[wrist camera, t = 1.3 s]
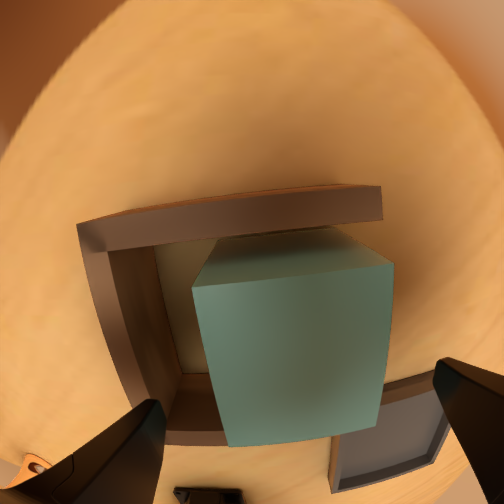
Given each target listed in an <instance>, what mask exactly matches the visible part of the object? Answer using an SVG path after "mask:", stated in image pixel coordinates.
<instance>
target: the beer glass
mask: <svg viewBox="0 0 504 504" xmlns="http://www.w3.org/2000/svg"><path fill="white" fill-rule="evenodd" d="M50 467H52V466H51V465H50V464H49V463H47V462H46V461H44V460H43V459H41V458H39V457H37V456H35V455H32V454H27V455H26V457H25V459H24V462H23V465H22V467H21V470H20V471H19V473H18V475H17V476H16V477H15V478H14V480H12V482H10V483H9V484H8V485H7V486H6V487H5V488H4V489H7V488H11V487H13V486H16V485H18V484H20V483H22V482H24V481H26V480H28V479H30V478H32V477H34V476H36V475H38V474H40V473H42V472H43V471H45V470H47V469H49V468H50Z"/></svg>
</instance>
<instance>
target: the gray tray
mask: <svg viewBox="0 0 504 504" xmlns="http://www.w3.org/2000/svg"><path fill="white" fill-rule="evenodd" d="M433 374H434V370H432V371H429V372H426V373H423V374H420V375H416V376H413V377H410V378H406V379H403V380H399V381H395V382H392V383H388V384H384V385H383V391H382V396H381V402H380V407H379V412H378V417H377V422H376V426H374V427H370V428H366V429H362V430H358V431H353V432H349V433H344V434H339V435H334V436H332V445H331V455H330V464H329V472H328V481H329V485H330V490H331V494H334V493H339V492H343V491H348V490H352V489H356V488H360V487H364V486H368V485H372V484H375V483H379V482H382V481H385V480H389V479H392V478H395V477H398V476H401V475H404V474H407V473H409V472H412V471H415V470H417V469H420V468H423V467H425V466H428V465H430V464H433V463H434V461H435V459H436V457H437V455H438V453H439V451H440V449H441V447H442V445H443V443H444V441H445V439H446V437H447V435H448V432H449V430H450V428H451V426H450V424H449V422H448V420H447V418H446V415H445V413H444V411H443V408H442V406H441V403H440V401H439V399H438V396H437V394H436V392H435V389H434V387H433V384H432V379H433Z"/></svg>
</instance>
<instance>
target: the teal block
mask: <svg viewBox="0 0 504 504" xmlns="http://www.w3.org/2000/svg"><path fill="white" fill-rule="evenodd" d="M393 287H394V263H393V262H392V261H390V260H388V259H387V258H385V257H383V256H382V255H380V254H379V253H377V252H375V251H374V250H372V249H370V248H369V247H367V246H365V245H364V244H362V243H360V242H358V241H357V240H355V239H353V238H352V237H350V236H348V235H346V234H345V233H343V232H341V231H340V230H338V229H336V228H325V229H315V230H306V231H296V232H287V233H278V234H269V235H260V236H251V237H242V238H233V239H225V240H218V241H217V243H216V244H215V246H214V248H213V250H212V251H211V253H210V255H209V257H208V258H207V260H206V262H205V264H204V266H203V267H202V269H201V271H200V273H199V274H198V276H197V278H196V280H195V282H194V283H193V285H192V287H191V288H192V293H193V299H194V304H195V309H196V314H197V319H198V324H199V329H200V333H201V338H202V343H203V347H204V352H205V356H206V360H207V365H208V369H209V373H210V378H211V382H212V386H213V390H214V394H215V398H216V402H217V406H218V409H219V413H220V417H221V421H222V424H223V428H224V432H225V435H226V439H227V442H228V446H229V447H245V446H260V445H272V444H281V443H290V442H298V441H305V440H311V439H318V438H323V437H329V436H334V435H339V434H344V433H349V432H353V431H358V430H362V429H366V428H370V427H374V426H376V422H377V417H378V412H379V407H380V402H381V396H382V391H383V385H384V378H385V372H386V365H387V357H388V349H389V340H390V330H391V319H392V305H393Z"/></svg>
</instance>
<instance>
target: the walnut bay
mask: <svg viewBox="0 0 504 504" xmlns="http://www.w3.org/2000/svg"><path fill="white" fill-rule="evenodd" d="M378 220H383V212H382V195H381V186H369V185H348V184H336V185H323V186H310V187H299V188H288V189H278V190H268V191H259V192H250V193H241V194H233V195H225V196H217V197H210V198H202V199H195V200H188V201H181V202H175V203H168V204H162V205H156V206H150V207H144V208H138V209H132V210H126V211H122V212H119V213H115V214H111V215H107V216H104V217H100V218H96V219H93V220H89V221H86V222H82V223H79V224H76V226H77V231H78V237H79V242H80V247H81V252H82V257H83V261H84V266H85V270H86V274H87V278H88V282H89V286H90V290H91V294H92V298H93V301H94V305H95V308H96V312H97V315H98V318H99V322H100V325H101V328H102V331H103V334H104V337H105V340H106V343H107V346H108V349H109V352H110V355H111V357H112V360H113V363H114V365H115V368H116V371H117V373H118V376H119V378H120V381H121V383H122V386H123V388H124V390H125V393H126V395H127V397H128V400H129V402H130V404H131V407H132V409H133V408H135V407H136V406H137V405H139V404H140V403H141V402H142V401H144V400H145V399H158V400H159V401H160V402H161V405H162V407H163V410H164V412H165V415H166V418H167V427H166V436H165V444H164V445H181V446H228V442H227V439H226V435H225V432H224V428H223V424H222V421H221V417H220V413H219V409H218V406H217V402H216V398H215V394H214V390H213V386H212V382H211V378H210V373H205V374H182V371H181V368H180V364H179V360H178V357H177V353H176V349H175V346H174V342H173V338H172V334H171V330H170V326H169V322H168V318H167V313H166V309H165V305H164V300H163V296H162V291H161V286H160V282H159V277H158V272H157V267H156V261H155V256H154V251H153V245H160V244H167V243H175V242H183V241H192V240H200V239H208V238H217V237H225V236H234V235H242V234H251V233H260V232H269V231H278V230H288V229H297V228H307V227H316V226H326V225H336V224H346V223H357V222H367V221H378Z"/></svg>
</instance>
